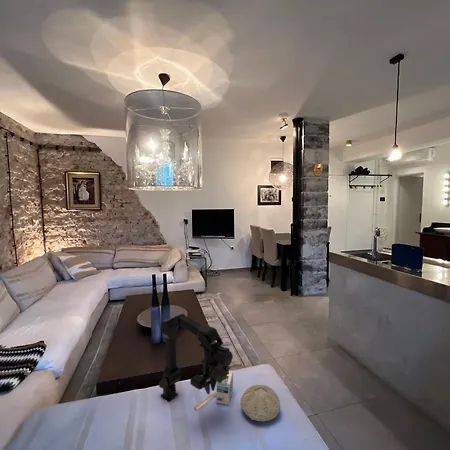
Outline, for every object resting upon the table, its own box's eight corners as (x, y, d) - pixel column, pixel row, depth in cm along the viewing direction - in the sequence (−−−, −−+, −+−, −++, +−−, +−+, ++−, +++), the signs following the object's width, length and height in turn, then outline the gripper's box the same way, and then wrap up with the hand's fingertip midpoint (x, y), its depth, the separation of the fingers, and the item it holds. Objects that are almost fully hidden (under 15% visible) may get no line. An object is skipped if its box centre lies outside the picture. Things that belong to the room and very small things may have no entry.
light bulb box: (229, 405, 130) (230, 384, 129) (215, 403, 131) (216, 382, 130) (232, 390, 140) (233, 370, 139) (220, 387, 141) (220, 368, 140)
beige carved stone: (247, 431, 115) (247, 408, 114) (236, 402, 132) (235, 382, 131) (286, 423, 119) (286, 401, 118) (270, 395, 136) (270, 376, 135)
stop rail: (194, 408, 128) (194, 407, 128) (229, 381, 148) (229, 380, 148) (197, 410, 127) (197, 409, 127) (232, 382, 146) (232, 381, 146)
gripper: (208, 375, 107) (209, 413, 108) (237, 355, 121) (238, 389, 122) (189, 364, 114) (190, 400, 115) (218, 347, 128) (219, 379, 129)
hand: (210, 392), depth 120 cm, fingers open, 3 cm apart
